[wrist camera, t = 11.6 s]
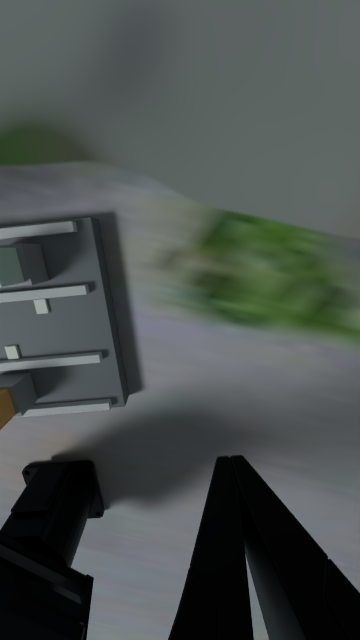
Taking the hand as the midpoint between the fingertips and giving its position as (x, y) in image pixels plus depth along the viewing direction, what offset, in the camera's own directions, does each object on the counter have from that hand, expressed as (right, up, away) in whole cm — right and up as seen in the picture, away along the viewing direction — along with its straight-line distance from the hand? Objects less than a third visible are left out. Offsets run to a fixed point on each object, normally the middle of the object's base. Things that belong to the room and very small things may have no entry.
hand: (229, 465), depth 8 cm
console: (-12, +5, +11) cm, 17 cm away
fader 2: (-14, 0, +11) cm, 18 cm away
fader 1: (-12, +9, +8) cm, 17 cm away
